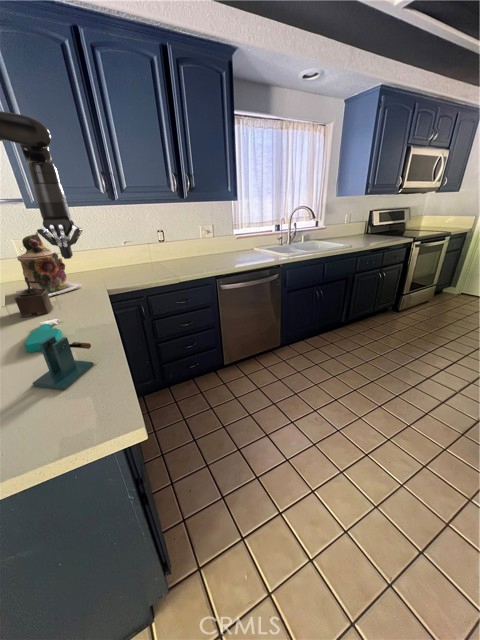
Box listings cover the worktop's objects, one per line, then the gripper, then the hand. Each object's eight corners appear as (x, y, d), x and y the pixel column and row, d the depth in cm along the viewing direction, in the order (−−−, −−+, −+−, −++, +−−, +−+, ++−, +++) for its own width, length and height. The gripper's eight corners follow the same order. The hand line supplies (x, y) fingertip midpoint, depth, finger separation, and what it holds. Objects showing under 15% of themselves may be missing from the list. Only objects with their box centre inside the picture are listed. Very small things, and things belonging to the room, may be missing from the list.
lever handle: (75, 348, 86) (76, 341, 86) (90, 349, 85) (91, 342, 85) (41, 349, 73) (42, 341, 74) (59, 351, 73) (60, 342, 73)
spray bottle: (24, 354, 89) (34, 327, 109) (61, 346, 94) (65, 321, 114) (21, 346, 88) (32, 320, 108) (59, 338, 93) (63, 315, 113)
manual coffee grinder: (20, 318, 117) (5, 278, 109) (27, 309, 126) (13, 272, 119) (61, 312, 123) (49, 274, 115) (64, 304, 132) (53, 268, 124)
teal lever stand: (65, 362, 85) (54, 329, 80) (93, 365, 83) (84, 331, 78) (33, 386, 74) (18, 350, 69) (65, 389, 73) (51, 353, 68)
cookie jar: (14, 294, 147) (-9, 234, 133) (58, 282, 167) (42, 229, 153) (41, 300, 137) (19, 236, 123) (84, 287, 157) (69, 231, 144)
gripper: (20, 201, 76) (40, 261, 83) (70, 200, 77) (85, 259, 85) (34, 200, 82) (52, 256, 90) (80, 200, 84) (93, 255, 91)
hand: (68, 258), depth 87 cm, fingers closed
